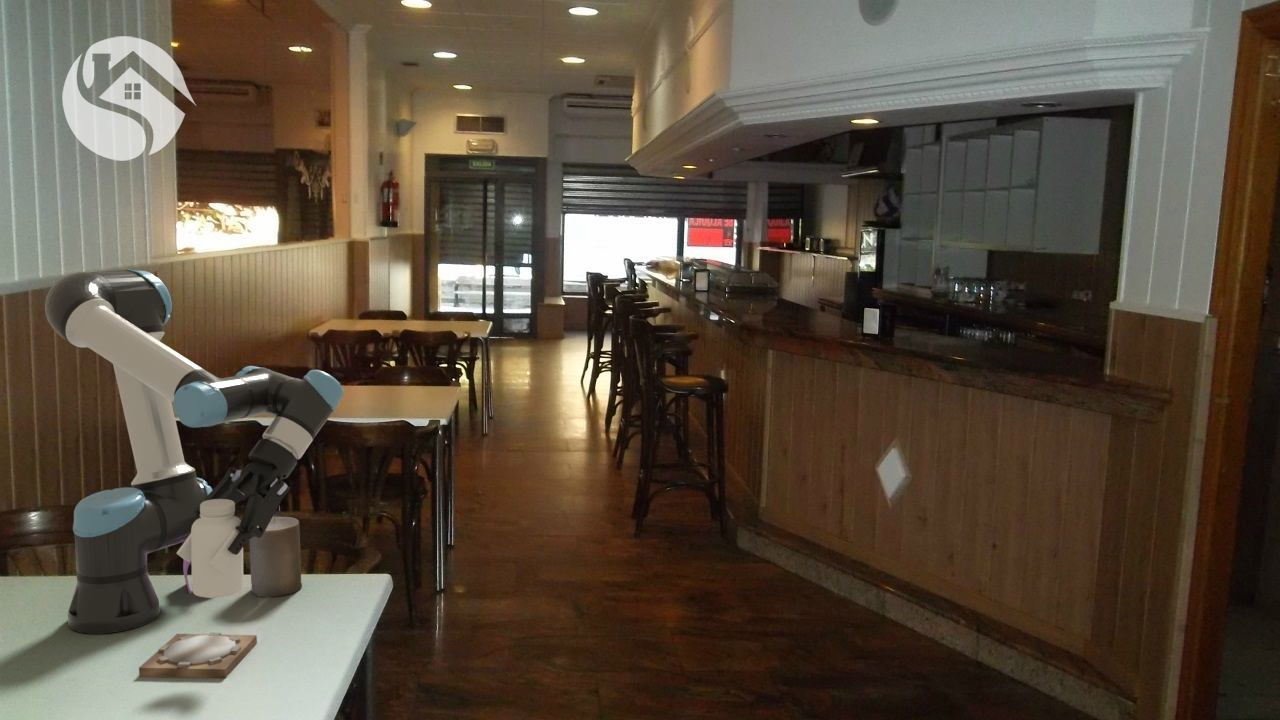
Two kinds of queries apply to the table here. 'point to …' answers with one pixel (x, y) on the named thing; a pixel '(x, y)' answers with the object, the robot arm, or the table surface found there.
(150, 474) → the robot arm
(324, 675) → the table surface
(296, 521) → the pillar candle
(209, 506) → the pill bottle
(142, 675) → the gear board
